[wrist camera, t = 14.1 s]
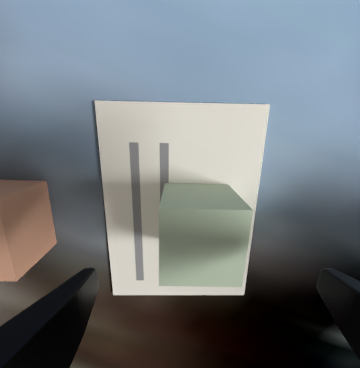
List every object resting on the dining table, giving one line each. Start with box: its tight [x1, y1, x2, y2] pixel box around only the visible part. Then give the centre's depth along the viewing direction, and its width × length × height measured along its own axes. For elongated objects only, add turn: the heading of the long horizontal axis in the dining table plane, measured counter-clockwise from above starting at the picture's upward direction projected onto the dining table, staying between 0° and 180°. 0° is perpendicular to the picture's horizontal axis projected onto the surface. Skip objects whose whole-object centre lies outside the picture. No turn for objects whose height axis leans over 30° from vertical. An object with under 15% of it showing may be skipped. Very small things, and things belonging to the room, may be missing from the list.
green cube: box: [159, 183, 253, 287], centre depth 12 cm, size 4×4×4 cm
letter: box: [95, 101, 270, 295], centre depth 14 cm, size 15×11×1 cm
